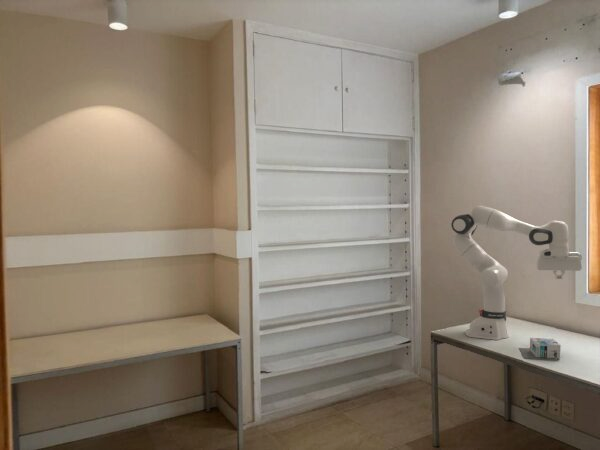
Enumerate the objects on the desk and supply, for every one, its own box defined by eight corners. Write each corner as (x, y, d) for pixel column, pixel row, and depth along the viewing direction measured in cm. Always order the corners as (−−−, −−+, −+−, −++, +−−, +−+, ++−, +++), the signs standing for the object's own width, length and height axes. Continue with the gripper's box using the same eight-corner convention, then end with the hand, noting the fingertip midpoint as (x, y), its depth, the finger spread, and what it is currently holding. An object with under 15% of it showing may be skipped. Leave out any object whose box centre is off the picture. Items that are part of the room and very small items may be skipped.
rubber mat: (523, 358, 224) (523, 357, 224) (518, 348, 239) (518, 347, 239) (556, 360, 220) (556, 359, 220) (549, 350, 235) (549, 349, 235)
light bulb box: (560, 344, 221) (536, 343, 223) (560, 358, 221) (536, 357, 223) (553, 338, 231) (529, 337, 233) (552, 351, 232) (529, 350, 234)
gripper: (580, 251, 242) (579, 278, 243) (536, 251, 248) (536, 277, 249) (583, 253, 236) (583, 280, 237) (538, 252, 242) (538, 279, 243)
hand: (558, 278), depth 243 cm, fingers closed
